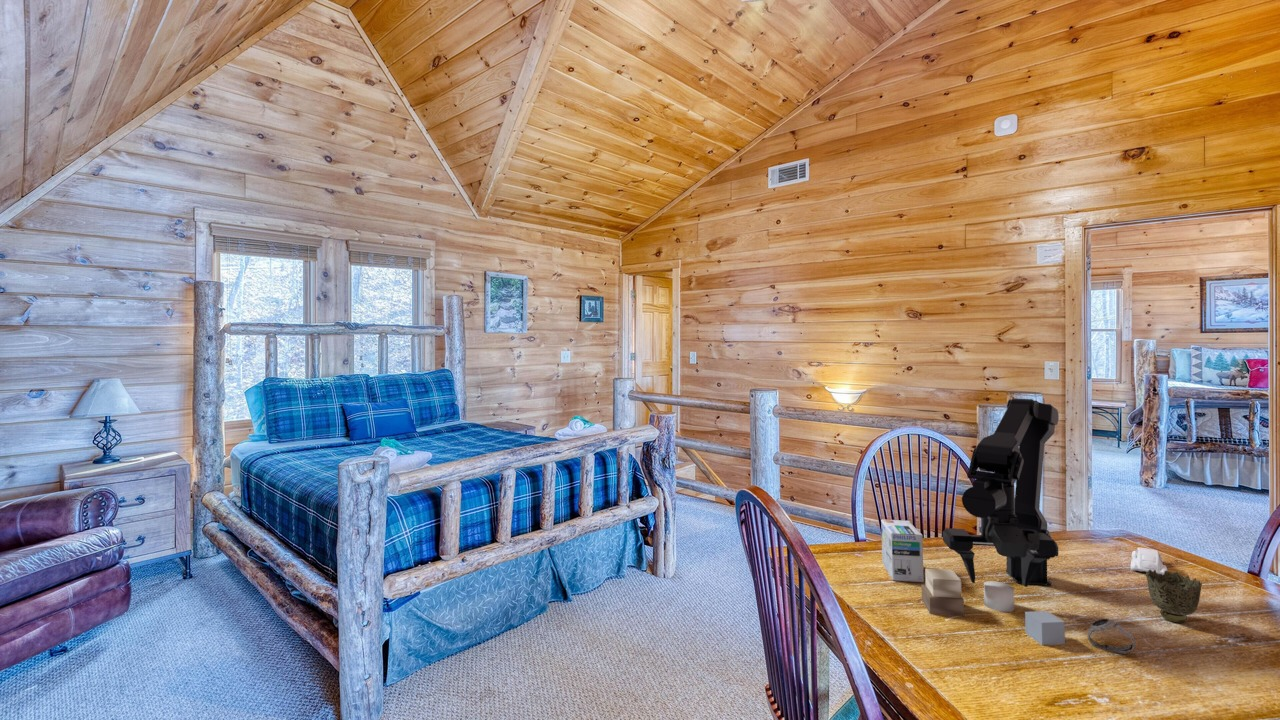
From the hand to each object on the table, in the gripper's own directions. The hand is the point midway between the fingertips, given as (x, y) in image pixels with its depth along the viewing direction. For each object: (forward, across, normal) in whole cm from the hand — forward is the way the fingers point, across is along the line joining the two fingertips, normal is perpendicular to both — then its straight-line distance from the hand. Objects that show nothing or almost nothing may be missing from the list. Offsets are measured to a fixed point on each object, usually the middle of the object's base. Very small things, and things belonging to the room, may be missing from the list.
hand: (998, 584), depth 109 cm
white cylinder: (+4, 0, 0) cm, 4 cm away
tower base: (+5, -11, -3) cm, 12 cm away
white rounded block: (+5, +40, +27) cm, 48 cm away
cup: (+5, +29, 0) cm, 29 cm away
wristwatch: (+5, +12, -14) cm, 19 cm away
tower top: (+1, -11, -3) cm, 11 cm away
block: (+4, +3, -12) cm, 13 cm away
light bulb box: (+5, -15, +14) cm, 21 cm away
